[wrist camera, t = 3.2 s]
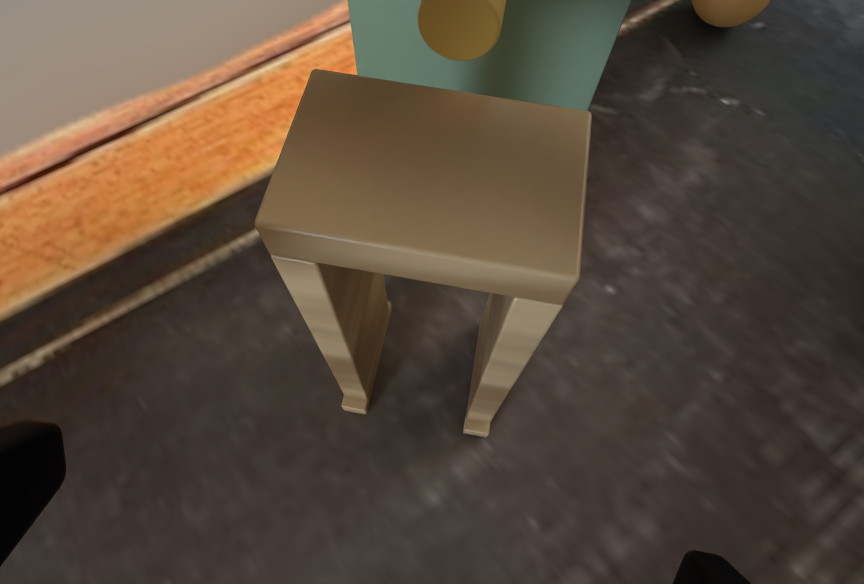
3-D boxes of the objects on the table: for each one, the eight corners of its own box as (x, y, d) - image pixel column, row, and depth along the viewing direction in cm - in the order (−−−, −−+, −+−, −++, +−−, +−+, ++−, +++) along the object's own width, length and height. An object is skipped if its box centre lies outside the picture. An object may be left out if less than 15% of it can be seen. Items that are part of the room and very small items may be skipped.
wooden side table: (486, 437, 19) (579, 303, 8) (343, 410, 20) (243, 244, 8) (501, 327, 21) (594, 93, 10) (370, 304, 22) (317, 51, 10)
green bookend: (534, 331, 21) (783, -112, 7) (340, 296, 22) (179, -190, 7) (552, 163, 25) (742, -366, 10) (385, 136, 25) (339, -407, 11)
